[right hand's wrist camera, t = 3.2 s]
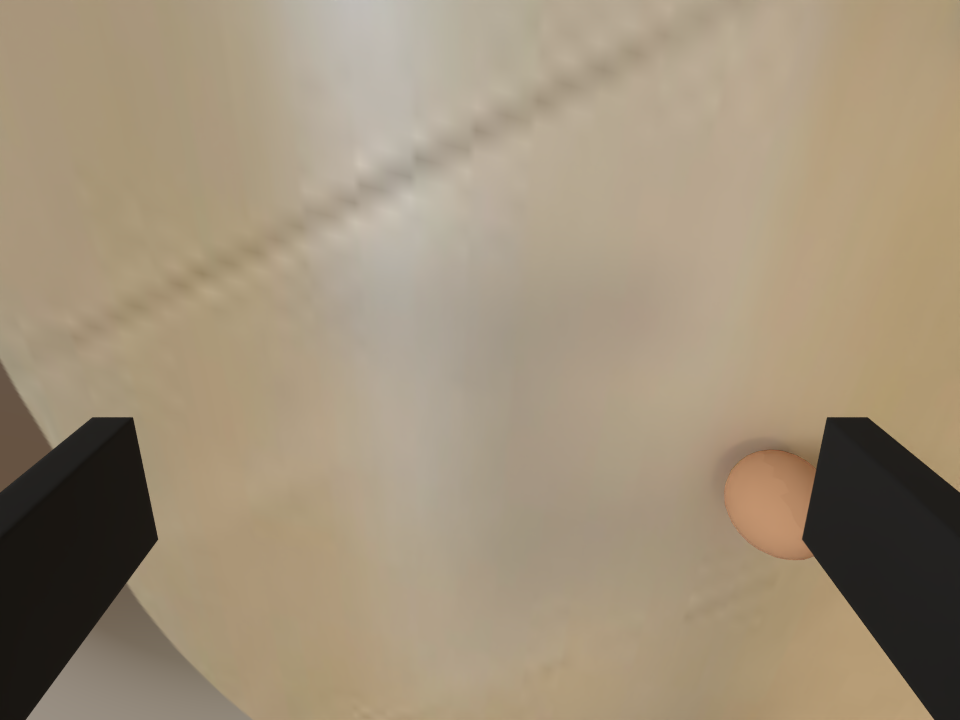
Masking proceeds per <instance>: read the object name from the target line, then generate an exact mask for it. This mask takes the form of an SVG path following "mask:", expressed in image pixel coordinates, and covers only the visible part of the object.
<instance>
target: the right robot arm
mask: <svg viewBox="0 0 960 720" xmlns="http://www.w3.org/2000/svg"><path fill="white" fill-rule="evenodd" d="M157 540H158V536H157V531H156V527H155V522H154V517H153V512H152V507H151V502H150V498H149V493H148V488H147V483H146V478H145V473H144V468H143V464H142V459H141V454H140V449H139V444H138V439H137V435H136V430H135V425H134V420H133V417H92V418H91V419H90V420H89V421H87V422H86V423H85V424H84V425H83V426H81V427H80V428H79V429H78V430H76V431H75V432H74V433H73V434H72V435H70V436H69V437H68V438H67V439H65V440H64V441H63V442H62V443H60V444H59V445H58V446H57V447H56V448H54V449H53V450H52V451H51V452H50V453H48V454H47V455H46V456H45V457H43V458H42V459H41V460H40V461H38V462H37V463H36V464H35V465H34V466H32V467H31V468H30V469H29V470H27V471H26V472H25V473H24V474H22V475H21V476H20V477H19V478H18V479H16V480H15V481H14V482H13V483H11V484H10V485H9V486H8V487H7V488H5V489H4V490H3V491H2V492H0V720H26V719H27V717H28V716H29V715H30V713H31V712H32V710H33V709H34V708H35V706H36V705H37V704H38V702H39V701H40V700H41V698H42V697H43V695H44V694H45V693H46V691H47V690H48V689H49V687H50V686H51V685H52V683H53V682H54V680H55V679H56V678H57V676H58V675H59V674H60V672H61V671H62V670H63V668H64V667H65V665H66V664H67V663H68V661H69V660H70V659H71V657H72V656H73V655H74V653H75V652H76V651H77V649H78V648H79V646H80V645H81V644H82V642H83V641H84V640H85V638H86V637H87V636H88V634H89V633H90V631H91V630H92V629H93V627H94V626H95V625H96V623H97V622H98V621H99V619H100V618H101V617H102V615H103V614H104V612H105V611H106V610H107V608H108V607H109V606H110V604H111V603H112V601H113V600H114V599H115V597H116V596H117V595H118V593H119V592H120V591H121V589H122V588H123V587H124V585H125V584H126V582H127V581H128V580H129V578H130V577H131V576H132V574H133V573H134V572H135V570H136V569H137V568H138V566H139V565H140V563H141V562H142V561H143V559H144V558H145V557H146V555H147V554H148V553H149V551H150V550H151V548H152V547H153V546H154V544H155V543H156V542H157ZM802 540H803V542H804V543H805V544H806V546H807V547H808V548H809V550H810V551H811V553H812V554H813V555H814V557H815V558H816V559H817V561H818V562H819V563H820V565H821V566H822V568H823V569H824V570H825V572H826V573H827V574H828V576H829V577H830V578H831V580H832V581H833V582H834V584H835V585H836V587H837V588H838V589H839V591H840V592H841V593H842V595H843V596H844V597H845V599H846V600H847V602H848V603H849V604H850V606H851V607H852V608H853V610H854V611H855V612H856V614H857V615H858V617H859V618H860V619H861V621H862V622H863V623H864V625H865V626H866V627H867V629H868V630H869V631H870V633H871V634H872V636H873V637H874V638H875V640H876V641H877V642H878V644H879V645H880V646H881V648H882V649H883V651H884V652H885V653H886V655H887V656H888V657H889V659H890V660H891V661H892V663H893V664H894V666H895V667H896V668H897V670H898V671H899V672H900V674H901V675H902V676H903V678H904V679H905V680H906V682H907V683H908V685H909V686H910V687H911V689H912V690H913V691H914V693H915V694H916V695H917V697H918V698H919V700H920V701H921V702H922V704H923V705H924V706H925V708H926V709H927V710H928V712H929V713H930V715H931V716H932V717H933V719H934V720H960V492H958V491H957V490H956V489H955V488H953V487H952V486H951V485H950V484H949V483H947V482H946V481H945V480H944V479H942V478H941V477H940V476H939V475H938V474H936V473H935V472H934V471H933V470H931V469H930V468H929V467H928V466H926V465H925V464H924V463H923V462H922V461H920V460H919V459H918V458H917V457H915V456H914V455H913V454H912V453H911V452H909V451H908V450H907V449H906V448H904V447H903V446H902V445H901V444H900V443H898V442H897V441H896V440H895V439H893V438H892V437H891V436H890V435H888V434H887V433H886V432H885V431H884V430H882V429H881V428H880V427H879V426H877V425H876V424H875V423H874V422H873V421H871V420H870V419H869V418H868V417H827V420H826V425H825V430H824V435H823V439H822V444H821V449H820V454H819V459H818V464H817V468H816V473H815V478H814V483H813V488H812V493H811V498H810V502H809V507H808V512H807V517H806V522H805V527H804V531H803V536H802Z"/></svg>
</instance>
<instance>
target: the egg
mask: <svg viewBox="0 0 960 720" xmlns="http://www.w3.org/2000/svg"><path fill="white" fill-rule="evenodd" d="M815 473H816V469H815V468H814V467H813V466H812V465H811V464H809V463H808V462H807V461H806V460H804V459H802V458H800V457H798V456H797V455H794V454H791V453H788V452H784V451H779V450H765V451H758V452H755V453H752V454H750V455H748V456H746V457H745V458H743V459H742V460H740V461H739V462H738V463H737V465H736V466H735V467H734V468H733V469H732V470H731V472H730V474H729V477H728V479H727V481H726V484H725V491H724V494H725V506H726V508H727V511H728V514H729V517H730V519H731V521H732V523H733V525H734V526H735V527H736V529H737V530H738V532H739V533H740V534H741V535H742V536H743V537H744V538H745V539H746V540H747V541H748V542H749V543H750V544H751V545H753V546H754V547H756V548H757V549H759V550H761V551H763V552H765V553H767V554H770V555H772V556H774V557H777V558H782V559H788V560H804V559H807V558H810V557H813V556H814V555H813V554H812V553H811V551H810V550H809V548H808V547H807V546H806V544H805V543H804V542H803V540H802V536H803V531H804V527H805V522H806V517H807V512H808V507H809V502H810V498H811V493H812V488H813V483H814V478H815Z"/></svg>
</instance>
